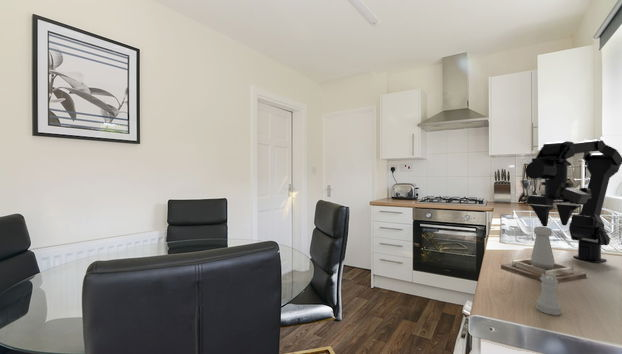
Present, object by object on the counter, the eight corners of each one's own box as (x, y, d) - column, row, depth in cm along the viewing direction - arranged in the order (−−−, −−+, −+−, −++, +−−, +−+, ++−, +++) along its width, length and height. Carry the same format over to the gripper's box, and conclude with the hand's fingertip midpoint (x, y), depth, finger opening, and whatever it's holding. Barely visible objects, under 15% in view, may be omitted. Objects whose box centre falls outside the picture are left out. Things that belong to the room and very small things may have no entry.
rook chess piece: (530, 306, 65) (531, 272, 65) (548, 306, 66) (548, 271, 65) (548, 316, 61) (548, 279, 61) (567, 315, 61) (568, 279, 61)
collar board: (536, 262, 97) (536, 255, 97) (586, 277, 83) (586, 268, 83) (501, 267, 92) (501, 259, 92) (548, 283, 79) (548, 274, 79)
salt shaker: (538, 265, 91) (538, 225, 91) (559, 270, 86) (559, 228, 86) (526, 267, 89) (526, 226, 89) (546, 273, 84) (547, 229, 84)
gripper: (563, 179, 84) (562, 231, 84) (604, 180, 90) (603, 229, 90) (525, 178, 95) (524, 225, 95) (564, 179, 100) (563, 223, 100)
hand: (554, 225), depth 95 cm, fingers open, 9 cm apart
